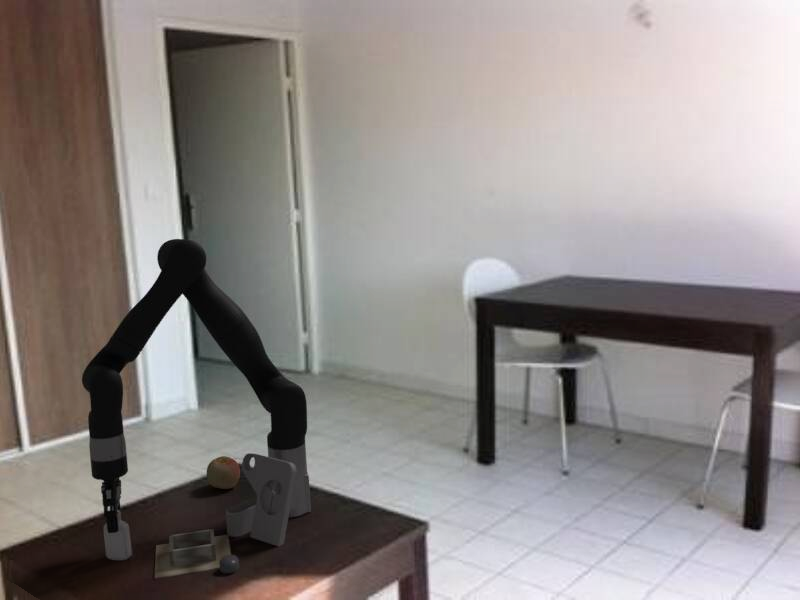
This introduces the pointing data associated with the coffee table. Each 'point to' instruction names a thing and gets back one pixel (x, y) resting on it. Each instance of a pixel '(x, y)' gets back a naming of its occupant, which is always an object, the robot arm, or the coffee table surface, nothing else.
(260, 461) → the phone holder
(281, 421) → the robot arm
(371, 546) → the coffee table surface
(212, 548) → the glass box on tray
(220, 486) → the apple
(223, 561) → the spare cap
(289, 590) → the coffee table surface
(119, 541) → the eye dropper bottle
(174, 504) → the coffee table surface
